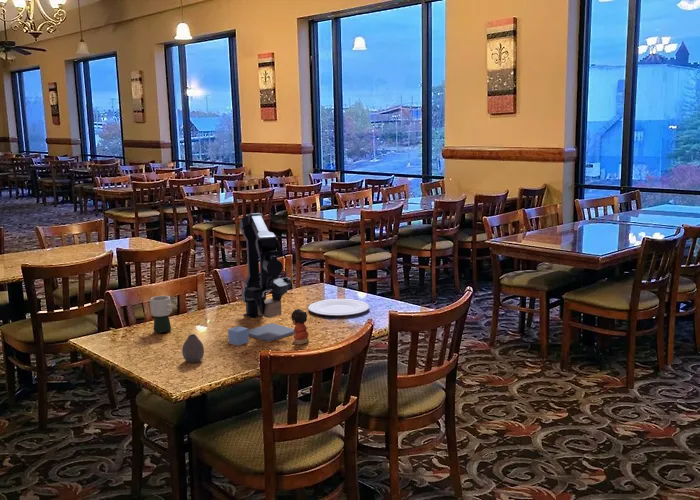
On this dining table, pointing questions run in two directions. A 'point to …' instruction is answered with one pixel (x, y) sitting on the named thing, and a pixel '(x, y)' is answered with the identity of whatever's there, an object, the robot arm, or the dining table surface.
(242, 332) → the blue brick
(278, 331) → the build plate
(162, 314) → the character mug
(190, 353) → the vase
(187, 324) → the dining table surface
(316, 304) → the plate
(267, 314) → the walnut brick
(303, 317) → the figurine
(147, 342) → the dining table surface
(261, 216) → the robot arm
